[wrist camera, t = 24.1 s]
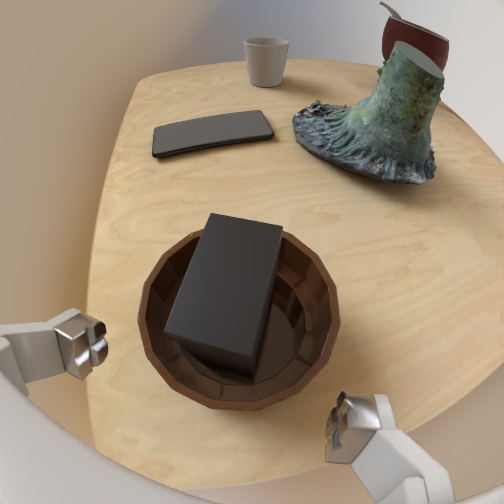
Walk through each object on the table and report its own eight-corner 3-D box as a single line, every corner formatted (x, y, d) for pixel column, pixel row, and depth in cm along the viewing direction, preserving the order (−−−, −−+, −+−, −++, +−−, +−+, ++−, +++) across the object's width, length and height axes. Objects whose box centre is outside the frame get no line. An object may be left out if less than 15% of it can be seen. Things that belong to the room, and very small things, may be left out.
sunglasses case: (272, 300, 20) (283, 225, 12) (253, 378, 17) (251, 356, 9) (227, 289, 20) (210, 212, 13) (203, 365, 17) (162, 331, 10)
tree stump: (354, 102, 39) (397, 22, 23) (428, 194, 34) (503, 123, 18) (264, 114, 34) (295, -1, 17) (349, 236, 29) (457, 129, 12)
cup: (236, 85, 41) (234, 43, 34) (262, 70, 46) (262, 33, 39) (276, 92, 39) (277, 47, 32) (297, 76, 44) (300, 38, 37)
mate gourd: (430, 97, 45) (450, 28, 28) (432, 117, 38) (459, 32, 21) (371, 72, 49) (383, 2, 32) (360, 87, 43) (375, -1, 26)
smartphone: (275, 134, 31) (151, 155, 29) (275, 139, 31) (153, 160, 30) (260, 109, 34) (153, 126, 32) (260, 114, 35) (155, 132, 33)
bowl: (334, 295, 21) (358, 257, 16) (283, 430, 15) (295, 441, 10) (209, 250, 23) (197, 202, 18) (144, 365, 18) (106, 347, 13)
